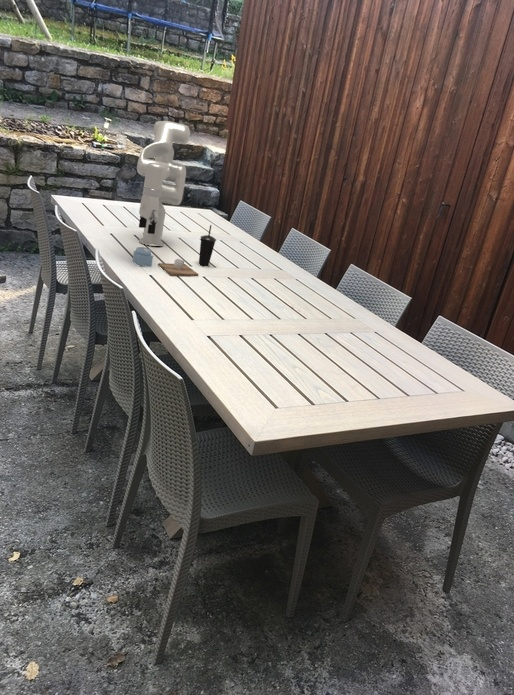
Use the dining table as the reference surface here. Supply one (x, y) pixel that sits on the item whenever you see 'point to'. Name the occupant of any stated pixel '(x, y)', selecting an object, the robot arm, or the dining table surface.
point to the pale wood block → (178, 264)
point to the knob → (143, 256)
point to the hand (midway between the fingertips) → (146, 230)
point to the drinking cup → (206, 249)
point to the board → (174, 272)
